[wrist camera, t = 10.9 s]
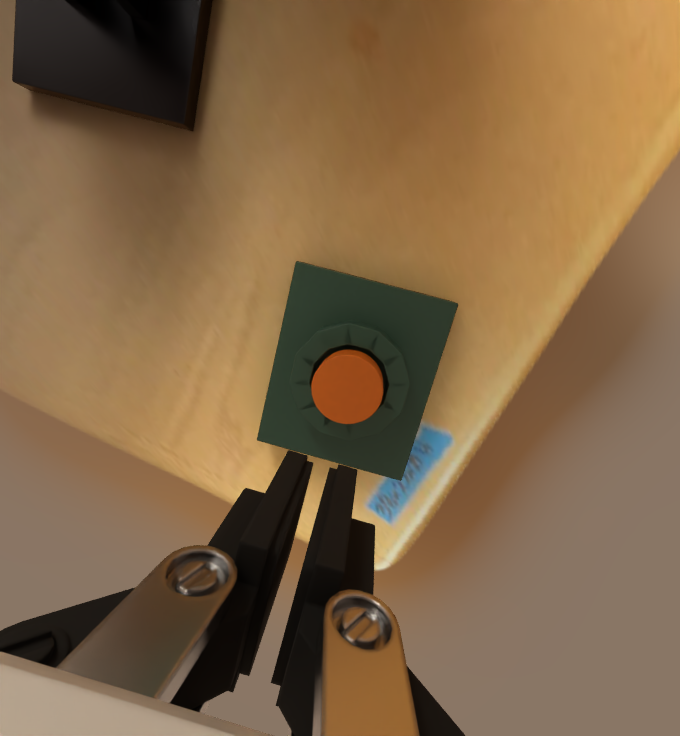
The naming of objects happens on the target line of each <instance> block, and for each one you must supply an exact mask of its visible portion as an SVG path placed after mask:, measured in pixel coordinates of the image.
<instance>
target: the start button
mask: <svg viewBox="0 0 680 736" xmlns="http://www.w3.org/2000/svg"><path fill="white" fill-rule="evenodd" d="M311 391H312V397H313V400H314V403H315V405H316V407H317V408H318V409H319V411H320V412H321V413H322V414H323V415H324V416H326V417H327V418H329V419H330V420H332V421H335V422H337V423H342V424H354V423H359V422H362V421H364V420H366V419H367V418H369V417H370V416H372V415H373V414H374V413H375V412H376V410H377V409H378V407H379V405H380V403H381V401H382V397H383V377H382V373H381V370H380V368H379V366H378V365H377V363H376V362H375V361H374V360H373V359H372V358H371V357H370V356H368V355H367V354H365V353H363V352H360V351H357V350H350V349H348V350H340V351H337V352H335V353H333V354H331V355H329V356H328V357H327V358H326V359H325V360H324V361H323V362H322V363H321V365H320V366H319V368H318V369H317V371H316V372H315V374H314V377H313V380H312V385H311Z"/></svg>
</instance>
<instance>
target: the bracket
mask: <svg viewBox="0 0 680 736" xmlns="http://www.w3.org/2000/svg"><path fill="white" fill-rule="evenodd" d="M212 1H213V0H16V11H15V32H14V54H13V75H12V81H13V82H15V83H17V84H19V85H20V86H22V87H24V88H26V89H28V90H30V91H34V92H38V93H42V94H46V95H50V96H54V97H58V98H62V99H66V100H70V101H74V102H78V103H82V104H86V105H90V106H94V107H98V108H102V109H106V110H110V111H114V112H118V113H122V114H126V115H130V116H134V117H138V118H142V119H146V120H150V121H154V122H158V123H162V124H166V125H170V126H174V127H178V128H182V129H186V130H190V131H193V130H194V123H195V116H196V109H197V102H198V96H199V89H200V82H201V75H202V69H203V62H204V55H205V48H206V41H207V35H208V28H209V21H210V14H211V7H212Z"/></svg>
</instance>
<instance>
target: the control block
mask: <svg viewBox="0 0 680 736" xmlns="http://www.w3.org/2000/svg"><path fill="white" fill-rule="evenodd" d="M457 307H458V303H455V302H453V301H449V300H445V299H441V298H438V297H434V296H430V295H426V294H422V293H419V292H415V291H411V290H407V289H403V288H399V287H396V286H392V285H388V284H384V283H380V282H377V281H373V280H369V279H365V278H361V277H357V276H354V275H350V274H346V273H342V272H338V271H335V270H331V269H327V268H323V267H319V266H315V265H312V264H308V263H304V262H299V261H296V264H295V268H294V273H293V277H292V282H291V286H290V291H289V296H288V300H287V305H286V309H285V314H284V318H283V323H282V328H281V332H280V337H279V341H278V346H277V350H276V355H275V359H274V364H273V369H272V373H271V378H270V382H269V387H268V391H267V396H266V401H265V405H264V410H263V414H262V419H261V423H260V428H259V433H258V437H257V440H258V441H261V442H265V443H269V444H272V445H276V446H279V447H283V448H286V449H290V450H293V451H297V452H300V453H304V454H308V455H311V456H315V457H318V458H322V459H325V460H329V461H332V462H336V463H339V464H343V465H347V466H350V467H354V468H357V469H361V470H364V471H368V472H371V473H375V474H378V475H382V476H386V477H389V478H393V479H396V480H400V481H401V480H402V477H403V474H404V471H405V468H406V465H407V462H408V459H409V456H410V452H411V449H412V446H413V443H414V440H415V437H416V434H417V431H418V428H419V425H420V421H421V418H422V415H423V412H424V409H425V406H426V403H427V400H428V397H429V394H430V390H431V387H432V384H433V381H434V378H435V375H436V372H437V369H438V366H439V363H440V359H441V356H442V353H443V350H444V347H445V344H446V341H447V338H448V335H449V332H450V328H451V325H452V322H453V319H454V316H455V313H456V310H457ZM348 349H350V350H357V351H360V352H363V353H365V354H367V355H368V356H370V357H371V358H372V359H373V360H374V361H375V362H376V363H377V365H378V366H379V368H380V370H381V373H382V377H383V397H382V401H381V403H380V405H379V407H378V409H377V410H376V412H375V413H374V414H373V415H372V416H370V417H369V418H367V419H366V420H364V421H362V422H359V423H354V424H342V423H337V422H335V421H332V420H330V419H329V418H327V417H326V416H324V415H323V414H322V413H321V412H320V411H319V409H318V408H317V407H316V405H315V403H314V400H313V397H312V391H311V385H312V380H313V377H314V374H315V372H316V371H317V369H318V368H319V366H320V365H321V363H322V362H323V361H324V360H325V359H326V358H327V357H328V356H329V355H331V354H333V353H335V352H337V351H340V350H348Z"/></svg>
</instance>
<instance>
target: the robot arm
mask: <svg viewBox="0 0 680 736" xmlns="http://www.w3.org/2000/svg"><path fill="white" fill-rule="evenodd" d="M312 467H313V462H309V461H307V455H304V454H300V453H297V452H293V451H290V450H288V452H287V454H286V456H285V457H284V459H283V461H282V463H281V465H280V467H279V469H278V470H277V472H276V474H275V476H274V478H273V480H272V482H271V483H270V485H269V487H268V489H267V491H266V493H262V492H258V491H255V490H251V489H248V488H245V489H244V490H243V491H242V493H241V494H240V496H239V498H238V499H237V501H236V502H235V504H234V505H233V507H232V508H231V510H230V512H229V513H228V515H227V516H226V518H225V519H224V521H223V522H222V524H221V525H220V527H219V528H218V530H217V531H216V533H215V535H214V536H213V538H212V539H211V541H210V542H209V544H208V545H207V546H204V545H194V546H188V547H184V548H181V549H179V550H177V551H174V552H172V553H171V554H170V555H168V556H167V557H166V558H165V559H164V560H163V561H162V562H161V563H160V564H159V565H158V566H157V567H156V568H155V569H154V570H153V571H152V572H151V573H150V574H149V575H148V576H147V577H146V578H145V579H144V580H143V581H142V582H141V583H140V584H139V585H138V586H137V587H135V588H132V589H129V590H125V591H122V592H119V593H116V594H112V595H109V596H105V597H102V598H99V599H96V600H92V601H89V602H85V603H82V604H79V605H75V606H72V607H69V608H65V609H62V610H59V611H56V612H52V613H49V614H46V615H43V616H39V617H36V618H32V619H29V620H26V621H22V622H20V623H17V624H15V625H12V626H10V627H7V628H5V629H3V630H1V631H0V736H273V735H269V734H266V733H263V732H260V731H257V730H253V729H250V728H247V727H244V726H241V725H238V724H234V723H231V722H228V721H225V720H221V719H218V718H215V717H212V716H209V715H205V712H206V710H207V707H208V704H209V700H210V699H212V698H214V697H216V696H218V695H220V694H222V693H224V692H226V691H230V692H233V691H234V688H235V685H236V682H237V680H238V677H239V674H240V673H241V674H244V675H248V676H249V675H250V672H251V669H252V666H253V663H254V660H255V657H256V654H257V651H258V648H259V645H260V642H261V639H262V636H263V633H264V630H265V627H266V624H267V621H268V618H269V615H270V612H271V609H272V606H273V603H274V600H275V597H276V594H277V591H278V588H279V584H280V582H281V579H282V575H283V573H284V570H285V567H286V564H287V561H288V558H289V554H290V551H291V548H292V544H293V540H294V536H295V532H296V529H297V525H298V521H299V517H300V513H301V509H302V506H303V502H304V498H305V494H306V490H307V486H308V483H309V479H310V475H311V471H312ZM356 478H357V469H353V468H350V467H346V466H343V465H339V464H338V468H337V469H334V468H329V472H328V475H327V479H326V483H325V486H324V490H323V494H322V497H321V501H320V505H319V508H318V512H317V516H316V519H315V523H314V526H313V530H312V534H311V537H310V541H309V545H308V548H307V552H306V556H305V560H304V563H303V567H302V570H301V574H300V578H299V581H298V585H297V589H296V593H295V596H294V600H293V604H292V607H291V611H290V615H289V618H288V622H287V626H286V629H285V633H284V637H283V641H282V644H281V648H280V651H279V655H278V659H277V663H276V666H275V670H274V674H273V677H272V681H271V683H273V684H276V685H280V686H281V687H280V691H279V695H278V699H277V703H276V706H279V708H280V710H281V712H282V713H283V715H284V717H285V719H286V721H287V723H288V725H289V727H290V728H289V731H288V736H465V735H464V733H463V732H462V731H461V730H460V729H459V727H458V726H457V725H456V724H455V723H454V722H453V720H452V719H451V718H450V717H449V715H448V714H447V713H446V712H445V711H444V710H443V709H442V707H441V706H440V705H439V704H438V702H437V701H436V700H435V699H434V698H433V696H432V695H431V694H430V693H429V692H428V691H427V689H426V688H425V687H424V686H423V685H422V683H421V682H420V681H419V680H418V679H417V678H416V676H415V675H414V674H413V673H412V671H411V670H410V669H409V668H408V667H407V665H406V660H405V654H404V649H403V644H402V638H401V633H400V628H399V625H398V622H397V619H396V617H395V615H394V614H393V612H392V611H391V609H390V608H389V607H388V606H387V605H386V604H385V603H384V602H383V601H381V600H380V599H378V598H377V597H375V596H374V595H373V585H374V549H375V525H373V524H370V523H366V522H363V521H359V520H356V519H352V518H351V517H352V509H353V502H354V494H355V486H356Z"/></svg>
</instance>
